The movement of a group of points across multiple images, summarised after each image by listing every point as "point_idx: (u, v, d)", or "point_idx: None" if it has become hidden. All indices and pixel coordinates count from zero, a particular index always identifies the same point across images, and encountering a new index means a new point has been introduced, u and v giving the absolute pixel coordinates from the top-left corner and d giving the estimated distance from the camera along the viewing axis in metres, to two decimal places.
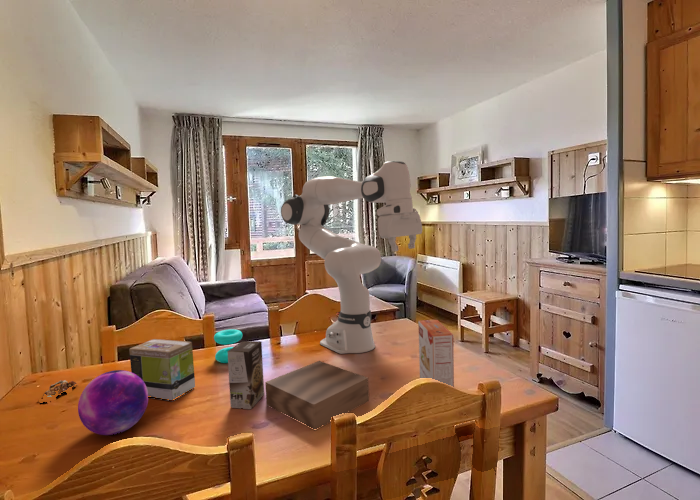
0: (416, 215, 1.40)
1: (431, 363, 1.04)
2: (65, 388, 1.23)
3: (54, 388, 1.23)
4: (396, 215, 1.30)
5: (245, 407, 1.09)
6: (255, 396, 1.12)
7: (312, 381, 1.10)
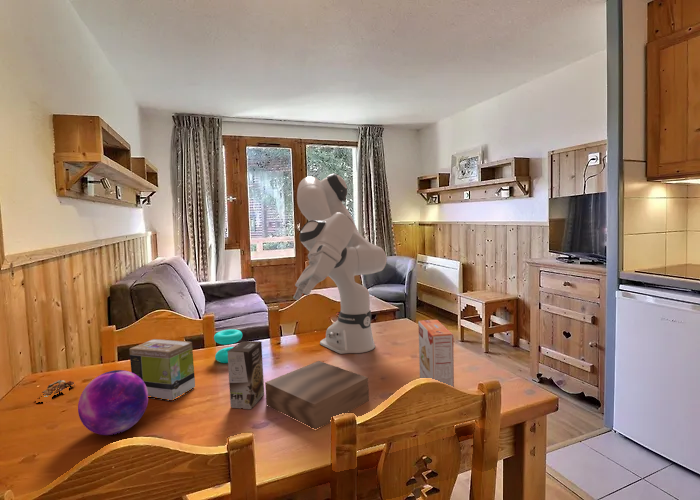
0: None
1: (431, 363, 1.04)
2: (62, 388, 1.23)
3: (52, 388, 1.23)
4: None
5: (245, 407, 1.09)
6: (255, 396, 1.12)
7: (312, 381, 1.10)
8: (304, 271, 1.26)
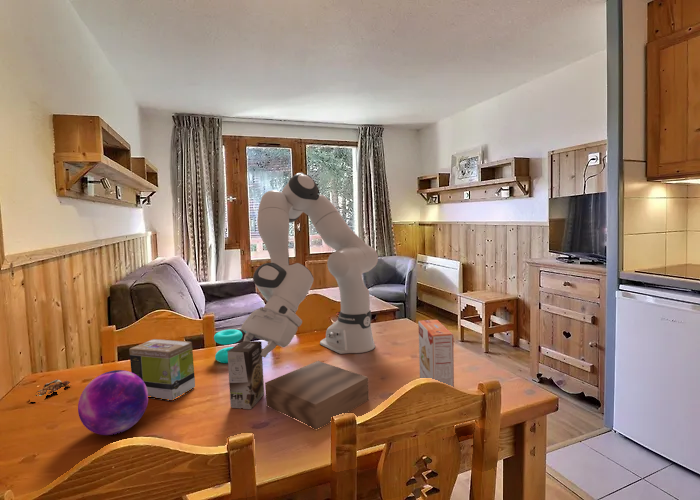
0: None
1: (431, 363, 1.04)
2: (57, 388, 1.23)
3: (47, 387, 1.24)
4: None
5: (245, 407, 1.09)
6: (255, 396, 1.12)
7: (312, 381, 1.10)
8: (253, 316, 1.23)
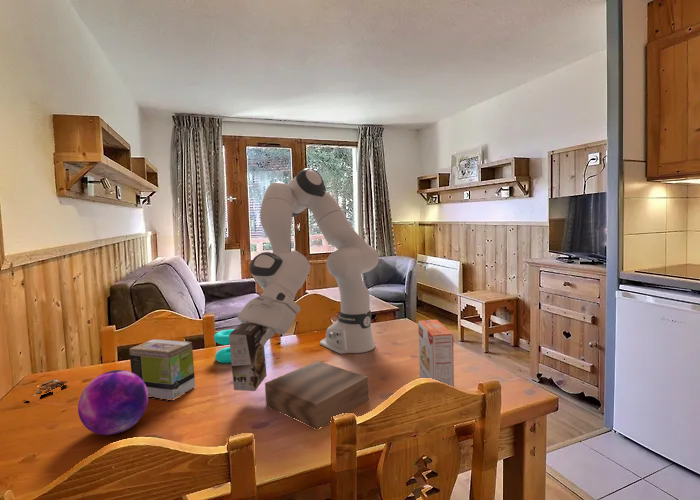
0: None
1: (431, 363, 1.04)
2: (53, 388, 1.24)
3: (44, 387, 1.24)
4: None
5: (249, 389, 1.08)
6: (259, 377, 1.11)
7: (312, 381, 1.10)
8: (250, 305, 1.21)
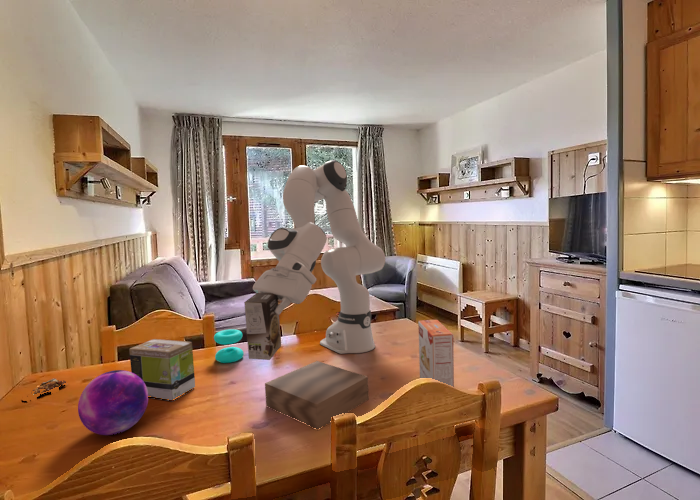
0: None
1: (431, 363, 1.04)
2: (51, 388, 1.24)
3: (43, 386, 1.25)
4: None
5: (264, 358, 1.08)
6: (274, 347, 1.10)
7: (312, 381, 1.10)
8: (265, 276, 1.20)
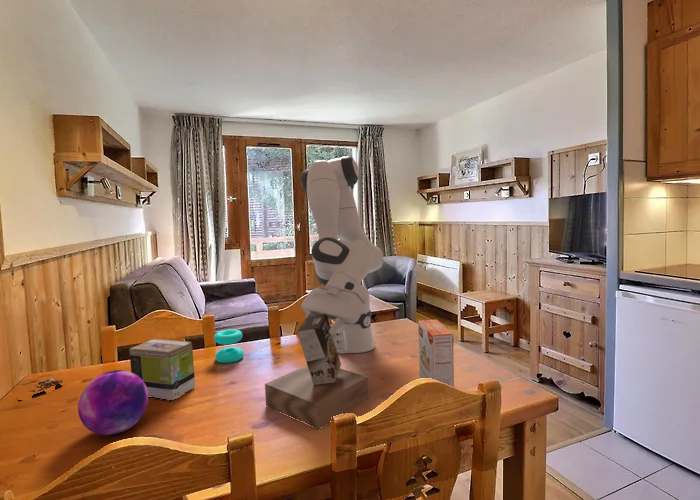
0: None
1: (431, 363, 1.04)
2: (46, 387, 1.24)
3: (39, 385, 1.26)
4: None
5: (328, 381, 1.07)
6: (335, 368, 1.09)
7: (312, 382, 1.10)
8: (314, 294, 1.19)
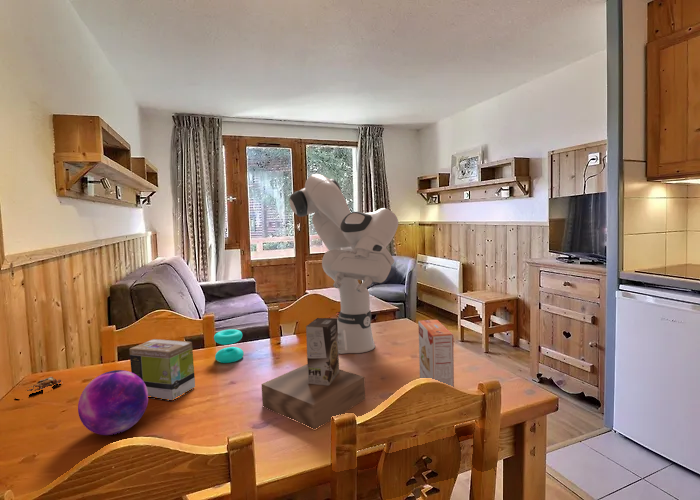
0: None
1: (431, 363, 1.04)
2: (44, 386, 1.25)
3: (38, 384, 1.26)
4: None
5: (323, 383, 1.08)
6: (333, 373, 1.10)
7: None
8: (342, 258, 1.27)
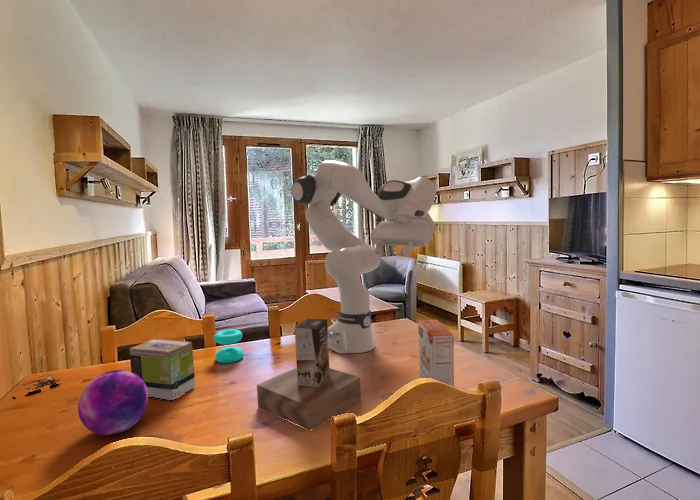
0: None
1: (431, 363, 1.04)
2: (42, 386, 1.25)
3: (37, 383, 1.27)
4: None
5: (313, 385, 1.07)
6: (322, 374, 1.09)
7: None
8: (382, 226, 1.27)
